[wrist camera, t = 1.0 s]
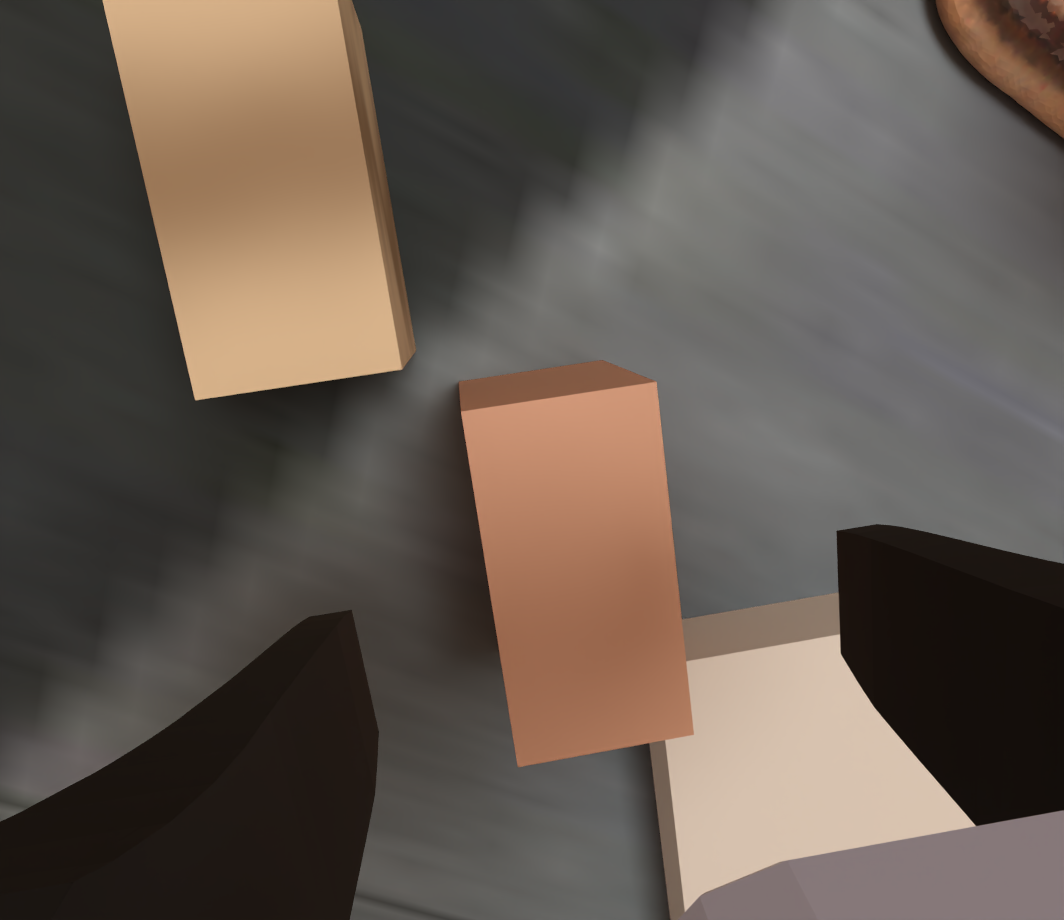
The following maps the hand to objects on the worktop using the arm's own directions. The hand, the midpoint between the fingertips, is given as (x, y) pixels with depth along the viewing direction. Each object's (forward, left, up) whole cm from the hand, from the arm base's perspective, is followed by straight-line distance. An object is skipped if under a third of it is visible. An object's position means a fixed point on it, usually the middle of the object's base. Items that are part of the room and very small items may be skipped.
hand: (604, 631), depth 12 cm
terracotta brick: (-1, 0, -11) cm, 11 cm away
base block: (-11, -7, -12) cm, 18 cm away
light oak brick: (+8, +5, -11) cm, 14 cm away
